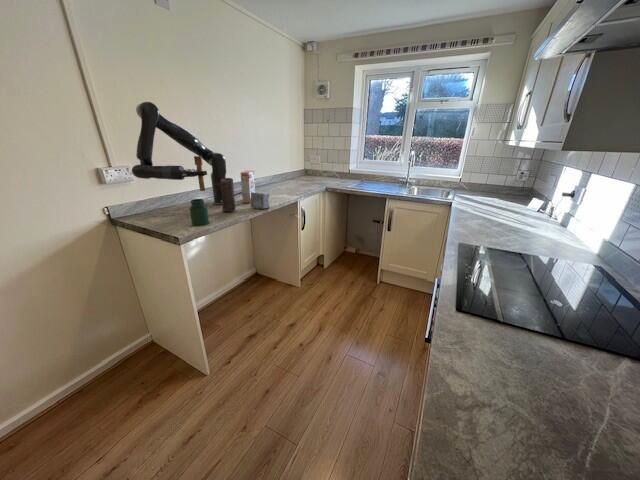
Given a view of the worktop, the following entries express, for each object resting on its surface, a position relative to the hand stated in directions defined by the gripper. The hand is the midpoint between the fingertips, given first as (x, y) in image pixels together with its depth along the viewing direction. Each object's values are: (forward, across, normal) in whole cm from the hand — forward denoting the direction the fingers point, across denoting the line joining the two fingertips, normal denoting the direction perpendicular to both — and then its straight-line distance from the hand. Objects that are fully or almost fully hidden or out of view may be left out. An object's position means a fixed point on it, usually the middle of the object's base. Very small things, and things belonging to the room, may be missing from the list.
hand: (205, 173), depth 142 cm
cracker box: (+14, +37, +24) cm, 47 cm away
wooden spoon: (-3, 0, +10) cm, 10 cm away
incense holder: (+25, +18, +24) cm, 40 cm away
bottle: (-1, -14, +24) cm, 28 cm away
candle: (+8, +9, +24) cm, 27 cm away
